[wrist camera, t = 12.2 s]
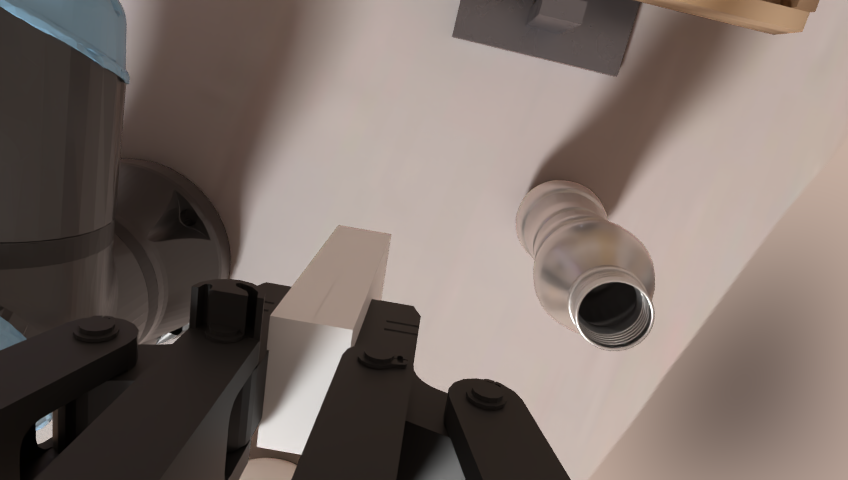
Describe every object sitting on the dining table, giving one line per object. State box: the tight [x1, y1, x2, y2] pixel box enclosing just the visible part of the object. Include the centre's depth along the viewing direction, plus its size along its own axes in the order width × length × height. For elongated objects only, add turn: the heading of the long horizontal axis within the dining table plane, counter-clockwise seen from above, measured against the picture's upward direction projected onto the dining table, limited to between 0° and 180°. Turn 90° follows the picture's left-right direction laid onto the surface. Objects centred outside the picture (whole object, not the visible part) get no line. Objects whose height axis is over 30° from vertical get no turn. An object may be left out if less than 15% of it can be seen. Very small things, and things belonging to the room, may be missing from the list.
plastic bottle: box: [516, 180, 655, 351], centre depth 38 cm, size 6×7×20 cm
